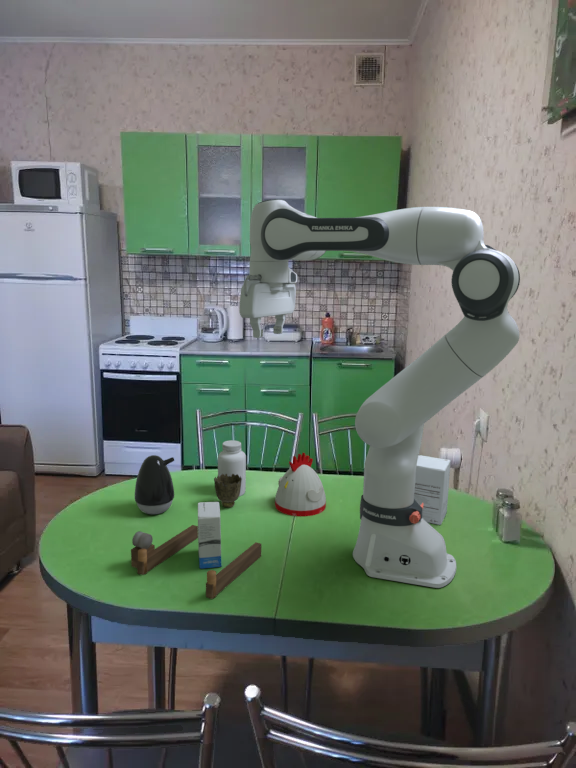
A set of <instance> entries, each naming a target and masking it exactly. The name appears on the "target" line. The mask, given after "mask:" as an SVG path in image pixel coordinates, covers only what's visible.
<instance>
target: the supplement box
mask: <svg viewBox="0 0 576 768" xmlns="http://www.w3.org/2000/svg"><path fill="white" fill-rule="evenodd" d="M451 462H452V461H451V459H446V458H439V457H433V456H428V455H418V460H417V466H416V477H415V491H414V499H415V501H416V502H417V503H418V504H419V505H421V504H422V503H423V511H422V518H423V519H424V520H425V521H426V522H427V523H428V524H434V525H440V526H441V525H442V524H443V521H444V519H445V518H446V517H445V516H446V514H447V513H448V501H449V488H450V475H451Z"/></svg>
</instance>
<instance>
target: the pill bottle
mask: <svg viewBox="0 0 576 768" xmlns="http://www.w3.org/2000/svg"><path fill="white" fill-rule="evenodd" d="M246 468H247V455H246V453H245V452H244V451H243V450H242V442H241V441H239V440H235V439H234V440H231V439H230V440H225V441H223V442H222V451H220V452H219V454H218V456H217V476H218V475H219V477H220V475H221V474H224V475H225V474H227V476H228V477H229V476H232V474H234V475H237V474H238V475H239V478H240V476H241V478H242V481H241V489H240V495H239V497H241V496H243V495H244V494H246V488H247V487H246V483H247V482H246V481H247V480H246V478H247V477H246V476H247V474H246V473H247V469H246Z"/></svg>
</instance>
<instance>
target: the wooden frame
mask: <svg viewBox="0 0 576 768" xmlns="http://www.w3.org/2000/svg"><path fill="white" fill-rule="evenodd" d="M153 540H154V538H153V535H152V534H150V533H147V532H143V531H141V530H140V531H139V530H138V531H137V532H135V534H133V537H132V541H131V542H132V546H134V547H133V548H131V549H130V559H131V561H130V562H131V568H134V569H136V572H137V574H138V575H141V576H144V575H147V574H148V573H149V572H150V571H152V570H153V569H155V568H156V567H157V566H159V565H160V564H162V563H163V562H164V561H166V560H168V559H169V558H171V557H172V556H174V555H175V554H177V553H178V552H179V551H181V550H183V549H184V548H186V547H187V546H188V545H189V544H191V543H193V542H194V541H195V540H198V525H195V524H192V525H190V526H188V527H187V528H186V529H184V530H182V531H181V532H179V533H178V534H176V535H174V536H173V537H171V538H169V539H168V540H167V541H165V542H164V543H162V544H160V545H158V546H157V547H156V548H155V544H153ZM261 557H262V543H260V542H257V541H256V542H254V543H253V544H252V545H251V546H249V547H248V548H247V549H245V550H244V551H243V552H242V553H240V554H239V555H237V557H236V558H234V559H233V560H232V561H231V562H229V563H228V564H227V565H226V566H224V568H222V569H221V570H220V571H219V572H217V571H216V570H214V569H209V570H207V572H206V582H205V598H207V599H210V600H213V599H215V598H216V597H217V596H218V594H220V593H221V592H222V591H224V589H226V588H227V587H228V586H229V585H230V584H232V583H233V581H235V580H236V579H237V578H238V577H239V576H240V575H241V574H243V572H245V571H246V570H247V569H249V567H251V566H252V565H253V564H254V563H256V562H257V561H258V560H259V559H260V558H261ZM225 587H226V588H225Z"/></svg>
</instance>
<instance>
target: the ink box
mask: <svg viewBox="0 0 576 768" xmlns="http://www.w3.org/2000/svg"><path fill="white" fill-rule="evenodd" d="M220 508H221V507H220V502H219V501H206V502H205V501H204V502H203V501H202V502H198V503H197V526H198V538H197V544H198V545H197V546H198V562H199V569H201V570H202V569H209V568H211V569H212V568H220V567H222V530H221V529H222V527H221V526H222V525H221V524H222V523H221V510H220Z"/></svg>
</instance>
